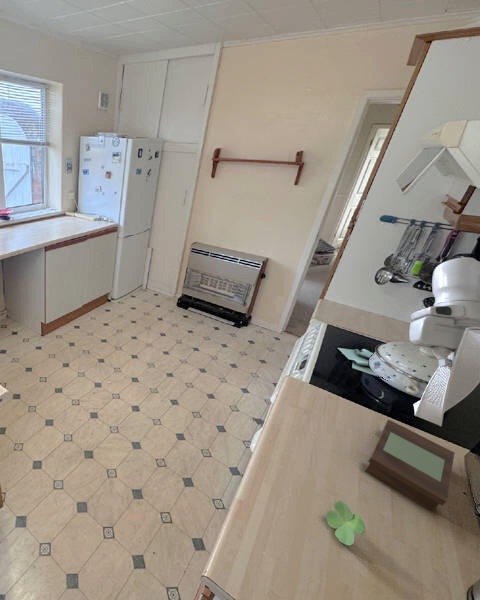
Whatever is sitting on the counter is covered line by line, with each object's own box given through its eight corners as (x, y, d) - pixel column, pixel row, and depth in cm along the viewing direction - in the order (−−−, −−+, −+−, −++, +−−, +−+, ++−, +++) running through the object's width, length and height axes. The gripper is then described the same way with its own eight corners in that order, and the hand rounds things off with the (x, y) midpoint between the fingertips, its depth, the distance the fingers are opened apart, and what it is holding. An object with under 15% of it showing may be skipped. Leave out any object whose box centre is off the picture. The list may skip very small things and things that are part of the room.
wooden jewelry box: (380, 431, 98) (388, 419, 96) (443, 464, 88) (454, 452, 86) (361, 470, 85) (370, 457, 83) (434, 514, 76) (446, 501, 73)
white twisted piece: (448, 432, 81) (526, 340, 68) (409, 416, 85) (476, 327, 73) (443, 415, 87) (515, 327, 74) (407, 400, 91) (468, 315, 78)
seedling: (340, 542, 73) (325, 537, 71) (338, 503, 76) (324, 497, 74) (380, 556, 67) (366, 551, 65) (377, 513, 71) (363, 506, 68)
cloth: (404, 388, 117) (407, 383, 116) (333, 360, 130) (335, 355, 129) (403, 364, 131) (406, 359, 130) (339, 341, 144) (341, 337, 143)
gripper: (497, 329, 83) (504, 382, 79) (403, 313, 87) (405, 362, 83) (525, 322, 77) (534, 379, 73) (423, 305, 82) (426, 358, 78)
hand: (464, 370), depth 78 cm, fingers closed on white twisted piece, 6 cm apart
